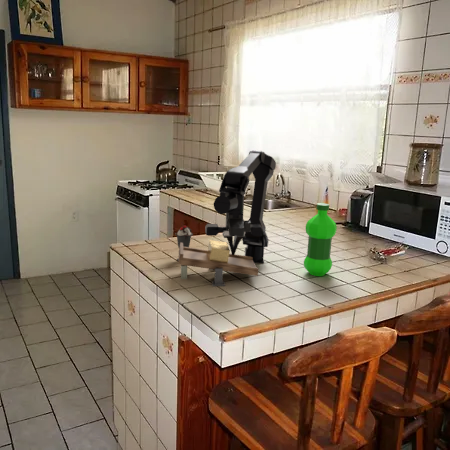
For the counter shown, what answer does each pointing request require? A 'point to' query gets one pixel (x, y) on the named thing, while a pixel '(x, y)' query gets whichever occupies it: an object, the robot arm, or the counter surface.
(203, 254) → the wooden tray
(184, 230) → the sundae
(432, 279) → the counter surface
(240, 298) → the counter surface
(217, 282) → the pivot stand
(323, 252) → the plastic bottle
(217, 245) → the tan wood-grain block
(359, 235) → the counter surface
